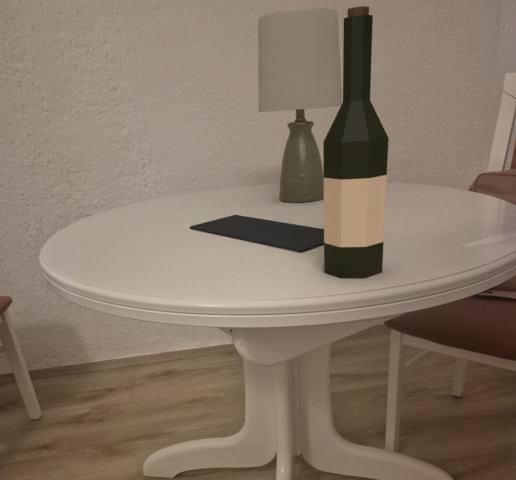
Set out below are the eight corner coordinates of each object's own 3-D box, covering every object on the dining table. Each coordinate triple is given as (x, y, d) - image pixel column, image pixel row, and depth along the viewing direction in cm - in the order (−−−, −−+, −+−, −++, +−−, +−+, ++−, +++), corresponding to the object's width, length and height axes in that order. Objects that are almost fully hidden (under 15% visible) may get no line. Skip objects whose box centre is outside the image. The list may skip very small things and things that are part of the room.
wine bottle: (334, 282, 62) (335, 2, 49) (315, 264, 70) (310, 16, 56) (394, 273, 64) (411, -1, 50) (369, 256, 71) (377, 13, 57)
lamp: (284, 209, 106) (275, 7, 89) (252, 198, 121) (239, 23, 104) (356, 198, 111) (361, 6, 95) (317, 188, 127) (315, 22, 110)
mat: (348, 235, 82) (348, 233, 82) (301, 252, 75) (301, 249, 75) (235, 216, 103) (235, 214, 102) (189, 228, 96) (189, 226, 95)
